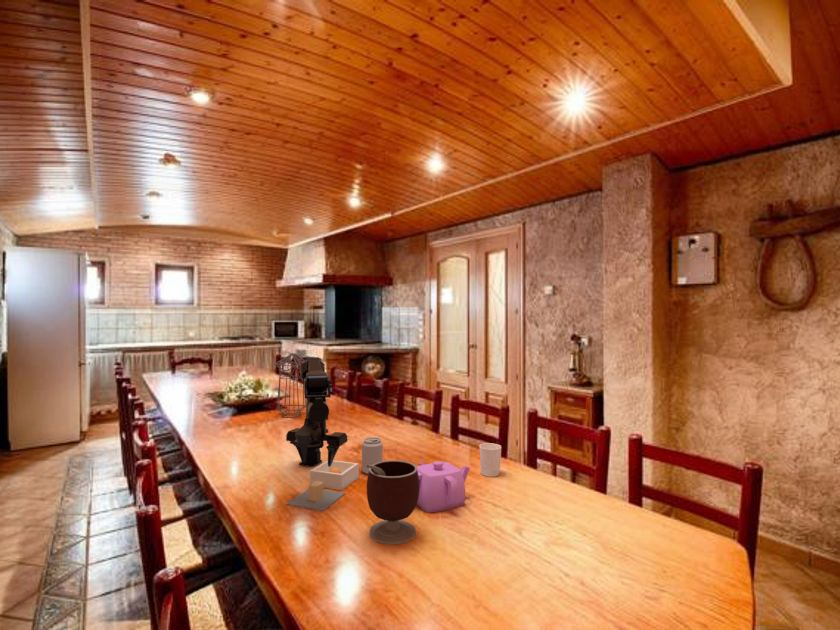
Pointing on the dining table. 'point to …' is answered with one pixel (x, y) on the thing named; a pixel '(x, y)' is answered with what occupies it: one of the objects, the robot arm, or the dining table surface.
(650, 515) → the dining table surface
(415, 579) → the dining table surface
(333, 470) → the ball
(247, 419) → the dining table surface
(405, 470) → the mate gourd
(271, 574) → the dining table surface
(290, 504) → the lid
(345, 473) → the box
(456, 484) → the teakettle
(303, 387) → the geometric lantern
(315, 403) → the robot arm
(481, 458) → the white cup
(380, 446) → the can
